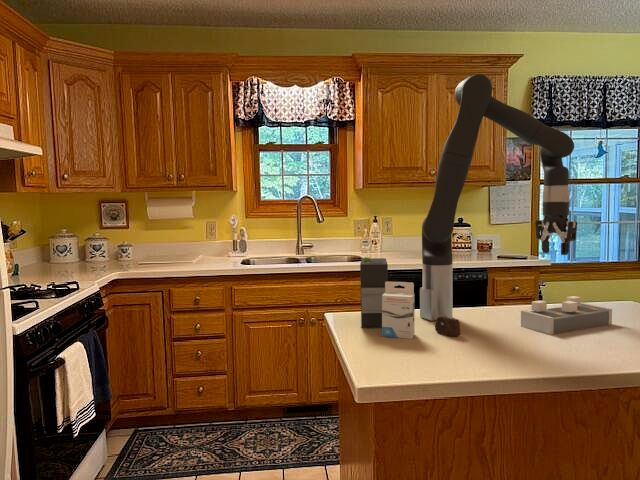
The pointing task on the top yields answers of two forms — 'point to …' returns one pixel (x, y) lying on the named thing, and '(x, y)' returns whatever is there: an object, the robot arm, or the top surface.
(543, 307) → the switch
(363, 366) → the top surface
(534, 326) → the power strip
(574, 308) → the switch
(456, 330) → the stone
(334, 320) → the top surface
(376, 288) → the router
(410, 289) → the ink box
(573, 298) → the switch
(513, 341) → the top surface
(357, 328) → the top surface
